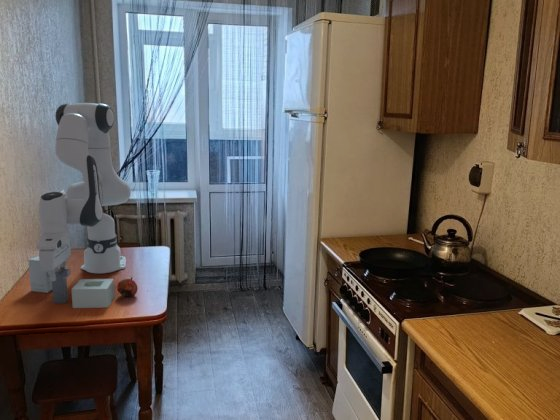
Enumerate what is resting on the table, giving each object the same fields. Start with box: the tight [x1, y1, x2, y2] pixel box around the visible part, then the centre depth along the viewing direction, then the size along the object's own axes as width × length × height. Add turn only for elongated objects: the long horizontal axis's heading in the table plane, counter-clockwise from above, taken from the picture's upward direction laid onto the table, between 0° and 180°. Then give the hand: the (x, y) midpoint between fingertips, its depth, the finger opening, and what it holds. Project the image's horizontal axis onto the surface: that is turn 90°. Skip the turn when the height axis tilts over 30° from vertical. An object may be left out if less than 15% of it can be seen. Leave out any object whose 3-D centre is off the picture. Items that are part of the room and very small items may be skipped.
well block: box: [71, 278, 116, 309], centre depth 169 cm, size 10×12×7 cm
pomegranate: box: [116, 277, 139, 301], centre depth 175 cm, size 7×7×10 cm
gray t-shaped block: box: [47, 268, 71, 304], centre depth 168 cm, size 3×7×12 cm, turn 96°
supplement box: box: [28, 255, 59, 293], centre depth 180 cm, size 7×7×13 cm
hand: (58, 276), depth 167 cm, fingers open, 8 cm apart
